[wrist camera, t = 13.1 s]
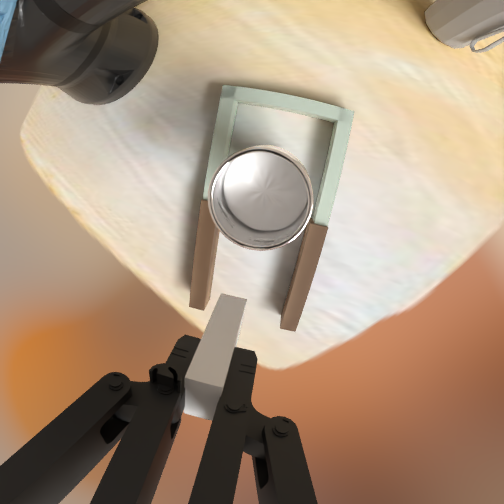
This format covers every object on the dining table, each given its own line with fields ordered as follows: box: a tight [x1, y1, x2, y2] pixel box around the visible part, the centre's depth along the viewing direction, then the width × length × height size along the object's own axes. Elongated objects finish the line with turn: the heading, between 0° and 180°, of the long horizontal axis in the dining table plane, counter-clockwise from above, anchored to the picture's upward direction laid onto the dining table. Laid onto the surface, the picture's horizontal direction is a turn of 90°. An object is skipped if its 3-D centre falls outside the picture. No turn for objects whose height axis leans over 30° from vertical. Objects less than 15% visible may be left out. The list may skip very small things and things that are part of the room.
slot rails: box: [189, 199, 328, 331], centre depth 33 cm, size 14×14×3 cm
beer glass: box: [208, 145, 313, 251], centre depth 23 cm, size 7×7×15 cm
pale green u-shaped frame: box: [203, 85, 354, 226], centre depth 28 cm, size 14×13×2 cm
